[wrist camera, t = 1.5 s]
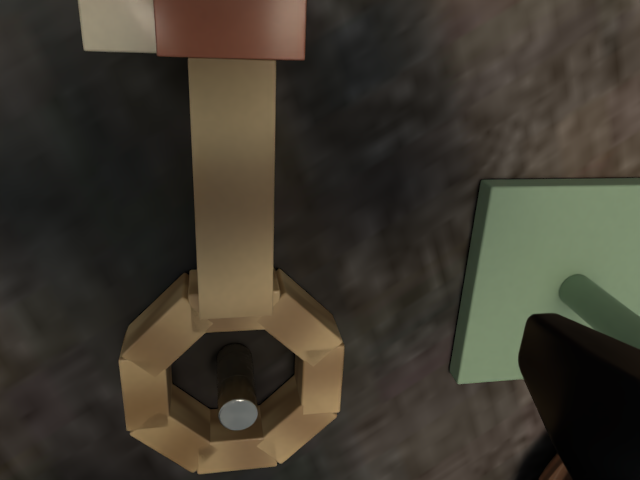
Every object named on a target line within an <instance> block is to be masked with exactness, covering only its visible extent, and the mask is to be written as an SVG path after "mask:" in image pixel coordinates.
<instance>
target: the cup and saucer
mask: <svg viewBox="0 0 640 480" xmlns="http://www.w3.org/2000/svg"><path fill="white" fill-rule="evenodd" d="M538 480H572V478H571V476H570V475H569V473H568V471H567V469H566V468H565V466H564V464H563V462H562V460H561V459H560V457H559V455H558V453H557V454H556V455H555V456H554V457H553V459H552V460H551V461H550V462H549V464H548V465H547V466H546V468H545V469H544V471H543V472H542V474H541V475H540V477H539V479H538Z"/></svg>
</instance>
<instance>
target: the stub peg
mask: <svg viewBox="0 0 640 480" xmlns="http://www.w3.org/2000/svg"><path fill="white" fill-rule="evenodd" d="M217 391H218V419H219V421H220V423H221V424H222V425H223V426H224V427H225V428H227V429H229V430H234V431H239V430H244V429H246V428H248V427H250V426H251V425H252V424H253V423H254V422H255V421H256V419H257V416H258V407H257V399H256V390H255V382H254V373H253V365H252V356H251V353H250V351H249V350H248V349H247V348H246V347H245V346H243V345H241V344H230V345H227V346H225V347H224V348H222V349H221V350H220V352H219V353H218V355H217Z"/></svg>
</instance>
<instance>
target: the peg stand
mask: <svg viewBox="0 0 640 480" xmlns="http://www.w3.org/2000/svg"><path fill="white" fill-rule="evenodd" d="M538 313H557V314H559V315H562V316H564V317H566V318H569V319H571V320H573V321H576V322H578V323H580V324H583V325H585V326H587V327H590V328H592V329H594V330H597V331H599V332H601V333H603V334H606V335H608V336H610V337H613V338H615V339H617V340H620V341H622V342H624V343H627V344H629V345H631V346H634V347H636V348H638V349H640V178H593V179H498V180H481V183H480V189H479V195H478V201H477V207H476V213H475V219H474V225H473V231H472V237H471V243H470V250H469V256H468V262H467V268H466V274H465V280H464V286H463V292H462V298H461V304H460V310H459V316H458V322H457V328H456V334H455V340H454V346H453V352H452V358H451V364H450V373H451V374H452V376H453V378H454V379H455V381H456V382H457V384H467V383H480V382H492V381H504V380H517V379H524V378H523V376H522V374H521V372H520V369H519V365H518V353H519V349H520V345H521V341H522V337H523V333H524V328H525V324H526V321H527V319H528V317H529V316H531V315H532V314H538Z"/></svg>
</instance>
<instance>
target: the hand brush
mask: <svg viewBox="0 0 640 480" xmlns="http://www.w3.org/2000/svg"><path fill="white" fill-rule="evenodd" d="M78 7H79V15H80V24H81V33H82V42H83V49H84V50H85V51H94V52H128V53H157V56H159V57H188V78H189V100H190V122H191V144H192V167H193V189H194V211H195V233H196V255H197V270H190V272H189V275H188V274H187V273H183V274H182V275H181V276H180V277H179V278H178V279H177V280H176V281H175V282H174V283H173V284H172V285H171V286H170V287H169V288H168V289H166V290H165V291H164V292H163V293H162V294H161V295H160V296H159V297H158V298H157V299H156V300H155V301H154V302H153V303H152V304H151V305H150V306H149V307H148V308H147V309H146V310H145V311H143V312H142V313H141V314H140V315H139V316H138V317H137V318H136V319H135V320H134V321H133V322H132V323H131V324H130V325H129V326H128V329H127V331H126V333H125V337H124V341H123V345H122V349H121V353H120V357H119V370H120V379H121V387H122V396H123V405H124V413H125V422H126V430H127V431H130V435H131V436H132V437H134V438H136V439H137V440H139V441H141V442H142V443H144V444H146V445H147V446H149V447H150V448H152V449H154V450H155V451H157V452H159V453H160V454H162V455H164V456H165V457H167V458H169V459H170V460H172V461H173V462H175V463H177V464H178V465H180V466H182V467H183V468H185V469H187V470H188V471H190V472H192V473H194V472H195V471H196V470H197V473H198V474H206V473H216V472H226V471H236V470H245V469H255V468H265V467H275V466H277V462H279V463H280V464H282V463H283V462H284V461H286V460H287V459H288V458H289V457H290V456H291V455H293V454H294V453H295V452H296V451H297V450H298V449H300V448H301V447H302V446H303V445H304V444H306V443H307V442H308V441H309V440H310V439H311V438H313V437H314V436H315V435H316V434H317V433H318V432H320V431H321V430H322V429H323V428H324V427H326V426H327V425H328V424H329V423H330V422H331V421H333V420H334V419H335V418H336V417H337V413H338V412H339V411H340V403H341V389H342V376H343V363H344V349H345V346H344V344H343V341H342V338H341V336H340V333H339V330H338V328H337V325H336V323H335V320H334V318H333V315H332V314H331V313H330V312H329V311H327V310H326V309H325V308H324V307H323V306H322V305H321V304H320V303H318V302H317V301H316V300H315V299H314V298H313V297H312V296H310V295H309V294H308V293H307V292H306V291H305V290H304V289H302V288H301V287H300V286H299V285H298V284H297V283H296V282H294V281H293V280H292V279H291V278H290V277H289V276H288V275H286V274H285V273H284V272H283V271H282V270H281V269H278V270H277V271H275V268H274V267H273V256H274V187H275V118H276V60H296V61H304V60H305V41H306V12H307V0H78ZM263 329H265V330H266V331H267V332H268V333H270V334H271V335H272V336H273V337H275V338H276V339H277V340H278V341H280V342H281V343H282V344H283V345H285V346H286V347H287V348H288V349H290V350H291V351H292V352H293V353H295V375H294V376H293V377H291V378H290V379H289V380H288V381H287V382H286V383H285V384H284V385H282V386H281V387H280V388H279V389H278V390H277V391H276V392H274V393H273V394H272V395H271V396H270V397H269V398H268V399H266V400H265V401H264V402H263V403H262V404H261V405H257V407H258V416H257V419H256V421H255V422H254V423H253V424H252V425H251V426H250V427H248V428H246V429H244V430H239V431H234V430H229V429H227V428H225V427H224V426H223V425H222V424H221V423H220V421H219V419H218V409H209V408H207V407H206V406H204V405H203V404H201V403H200V402H198V401H197V400H196V399H194V398H193V397H191V396H190V395H188V394H187V393H185V392H184V391H182V390H181V389H179V388H178V387H176V386H175V385H173V384H172V371H171V364H172V363H173V362H175V361H176V360H177V359H178V358H179V357H180V356H181V355H182V354H183V353H184V352H185V351H186V350H188V349H189V348H190V347H191V346H192V345H193V344H194V343H195V342H196V341H197V340H198V339H199V338H201V337H202V336H203V335H204V334H205V333H211V332H228V331H245V330H263Z"/></svg>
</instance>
